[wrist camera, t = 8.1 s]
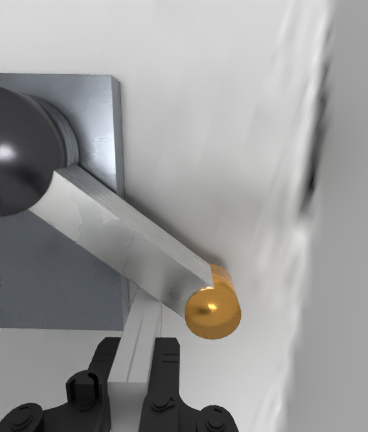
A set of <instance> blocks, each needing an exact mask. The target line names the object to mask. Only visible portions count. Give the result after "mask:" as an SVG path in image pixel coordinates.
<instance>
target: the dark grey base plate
mask: <svg viewBox="0 0 368 432" xmlns="http://www.w3.org/2000/svg"><path fill="white" fill-rule="evenodd" d="M0 87H4V88H7V89H11V90H15V91H18V92H22V93H25V94H29V95H33V96H36V97H38V98H41V99H43V100H45V101H46V102H48V103H49V104H51V105H52V106H54V107H55V108H56V109H57V110H58V111H59V112H60V113H61V114H62V115H63V116H64V117H65V119H66V120H67V121H68V123H69V124H70V126H71V128H72V130H73V132H74V135H75V137H76V141H77V144H78V151H79V160H78V166H79V167H80V168H82V169H83V170H84V171H86V172H87V173H88V174H90V175H91V176H92V177H94V178H95V179H96V180H98V181H99V182H100V183H102V184H103V185H104V186H106V187H107V188H108V189H110V190H111V191H112V192H114V193H115V194H116V195H118V196H119V197H120V198H122V199H123V200H124V201H125V196H124V172H123V147H122V123H121V99H120V82H119V81H118V80H116V79H115V78H114V77H113V76H112V75H77V74H15V73H0ZM128 315H129V293H128V279H127V278H126V277H125V276H123V275H122V274H120V273H119V272H117V271H116V270H115V269H113V268H112V267H110V266H109V265H107V264H106V263H105V262H103V261H102V260H100V259H99V258H97V257H96V256H95V255H93V254H92V253H90V252H89V251H87V250H86V249H85V248H83V247H82V246H80V245H79V244H77V243H76V242H75V241H73V240H72V239H70V238H69V237H67V236H66V235H65V234H63V233H62V232H60V231H59V230H57V229H56V228H55V227H53V226H52V225H50V224H49V223H47V222H46V221H45V220H43V219H42V218H40V217H39V216H37V215H36V214H35V213H33V212H32V211H30V210H29V209H27V210H25V211H23V212H21V213H18V214H15V215H11V216H5V217H0V328H33V329H75V330H117V331H123V330H124V327H125V324H126V321H127V318H128Z"/></svg>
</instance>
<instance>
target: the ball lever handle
mask: <svg viewBox="0 0 368 432" xmlns="http://www.w3.org/2000/svg"><path fill="white" fill-rule="evenodd" d="M78 160H79V151H78V144H77V141H76V137H75V135H74V132H73V130H72V128H71V126H70V124H69V123H68V121H67V120H66V119H65V117H64V116H63V115H62V114H61V113H60V112H59V111H58V110H57V109H56V108H55V107H54V106H52V105H51V104H49V103H48V102H46V101H45V100H43V99H41V98H38V97H36V96H33V95H29V94H25V93H22V92H18V91H15V90H11V89H7V88H4V87H0V217H5V216H11V215H15V214H18V213H21V212H23V211H25V210H27V209H29V210H30V211H32V212H33V213H35V214H36V215H37V216H39V217H40V218H42V219H43V220H45V221H46V222H47V223H49V224H50V225H52V226H53V227H55V228H56V229H57V230H59V231H60V232H62V233H63V234H65V235H66V236H67V237H69V238H70V239H72V240H73V241H75V242H76V243H77V244H79V245H80V246H82V247H83V248H85V249H86V250H87V251H89V252H90V253H92V254H93V255H95V256H96V257H97V258H99V259H100V260H102V261H103V262H105V263H106V264H107V265H109V266H110V267H112V268H113V269H115V270H116V271H117V272H119V273H120V274H122V275H123V276H125V277H126V278H127V279H129V280H130V281H132V282H133V283H135V284H136V285H137V286H139V287H140V288H142V289H143V290H145V291H146V292H147V293H149V294H150V295H152V296H153V297H155V298H156V299H158V300H159V301H160V302H162V303H163V304H165V305H166V306H168V307H169V308H170V309H172V310H173V311H175V312H176V313H178V314H179V315H180V316H182V317H183V318H185V321H186V324H187V326H188V328H189V329H190V330H191V331H192V332H193V333H194V334H196V335H197V336H199V337H202V338H205V339H220V338H223V337H226V336H228V335H229V334H231V333H232V332H233V331H234V330H235V329H236V328H237V327H238V325H239V323H240V320H241V309H240V306H239V303H238V300H237V296H236V293H235V290H234V287H233V283H232V280H231V277H230V275H229V273H228V272H227V271H226V270H225V269H224V268H222V267H221V266H218V265H215V264H208V263H207V262H205V261H204V260H203V259H201V258H200V257H199V256H197V255H196V254H195V253H193V252H192V251H191V250H189V249H188V248H187V247H185V246H184V245H183V244H181V243H180V242H179V241H177V240H176V239H175V238H173V237H172V236H171V235H169V234H168V233H167V232H165V231H164V230H163V229H161V228H160V227H159V226H157V225H156V224H155V223H153V222H152V221H151V220H149V219H148V218H147V217H145V216H144V215H143V214H141V213H140V212H139V211H137V210H136V209H135V208H134V207H132V206H131V205H130V204H128V203H127V202H126V201H124V200H123V199H122V198H120V197H119V196H118V195H116V194H115V193H114V192H112V191H111V190H110V189H108V188H107V187H106V186H104V185H103V184H102V183H100V182H99V181H98V180H96V179H95V178H94V177H92V176H91V175H90V174H88V173H87V172H86V171H84V170H83V169H82V168H80V167H79V166H78Z"/></svg>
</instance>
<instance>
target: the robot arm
mask: <svg viewBox="0 0 368 432" xmlns="http://www.w3.org/2000/svg"><path fill="white" fill-rule="evenodd" d="M161 330H162V302H160V301H159V300H158V299H156V298H155V297H153V296H152V295H150V294H149V293H147V292H146V291H145V290H143V289H142V288H137V291H136V294H135V297H134V300H133V303H132V306H131V309H130V312H129V315H128V318H127V322H126V325H125V328H124V331H123V334H122V337H121V338H119V337H105V338H104V339H103V340H102V341H101V342H100V343H99V344H98V346H97V349H96V351H95V354H94V356H93V358H92V362H91V363H90V365H89V368H88V370H84V371H81V372H78V373H76V374H74V375H73V376H72V377H71V378H69V380H68V381H67V383H66V391H67V400H68V402H67V403H65V404H63V405H61V406H58V407H55V408H51V409H48V410H44V411H43V410H42V408H41V406H39V405H38V404H36V403H27V404H23V405H20V406H18V407H17V408H15V409H13V410H12V411H11V412H10V413H8V414H7V415H6V416H5V417H4V418H3V419H2V421H1V422H0V432H110V429H111V432H239V431H238V428H237V426H236V424H235V421H234V419H233V417H232V416H231V414H230V413H229V412H228V411H227V410H226V409H224V408H223V407H220V406H217V405H209V406H207V407H205V408H203V409H202V410H201V411H199V410H196V409H193V408H191V407H189V406H188V405H186V404H185V403H184V402H183V400H182V399H181V397H180V395H179V371H180V345H179V343H178V341H177V339H176V338H161Z"/></svg>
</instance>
